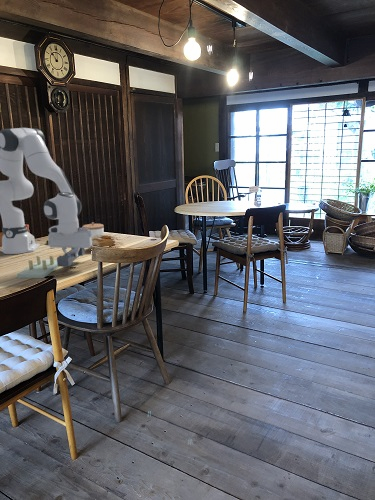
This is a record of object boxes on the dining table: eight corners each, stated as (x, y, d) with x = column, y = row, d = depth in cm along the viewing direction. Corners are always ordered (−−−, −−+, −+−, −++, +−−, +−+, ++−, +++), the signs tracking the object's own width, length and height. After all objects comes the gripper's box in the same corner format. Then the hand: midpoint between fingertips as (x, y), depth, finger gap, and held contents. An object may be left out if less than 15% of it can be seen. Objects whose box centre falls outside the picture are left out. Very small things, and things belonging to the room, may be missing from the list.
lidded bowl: (107, 237, 252) (105, 220, 249) (101, 242, 240) (99, 224, 237) (87, 237, 253) (86, 220, 251) (80, 242, 241) (78, 224, 238)
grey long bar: (74, 253, 202) (74, 245, 201) (84, 253, 201) (84, 246, 200) (57, 266, 181) (56, 257, 180) (68, 266, 181) (68, 257, 180)
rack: (41, 262, 200) (40, 251, 199) (64, 262, 199) (63, 251, 198) (17, 277, 177) (15, 265, 176) (43, 277, 176) (41, 265, 175)
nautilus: (126, 246, 231) (121, 254, 217) (88, 245, 231) (82, 253, 217) (126, 233, 229) (121, 240, 214) (88, 231, 229) (81, 238, 215)
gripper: (93, 226, 189) (95, 254, 193) (51, 226, 191) (53, 254, 195) (88, 229, 183) (90, 258, 187) (45, 229, 185) (48, 257, 189)
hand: (71, 256), depth 191 cm, fingers closed on grey long bar, 3 cm apart
